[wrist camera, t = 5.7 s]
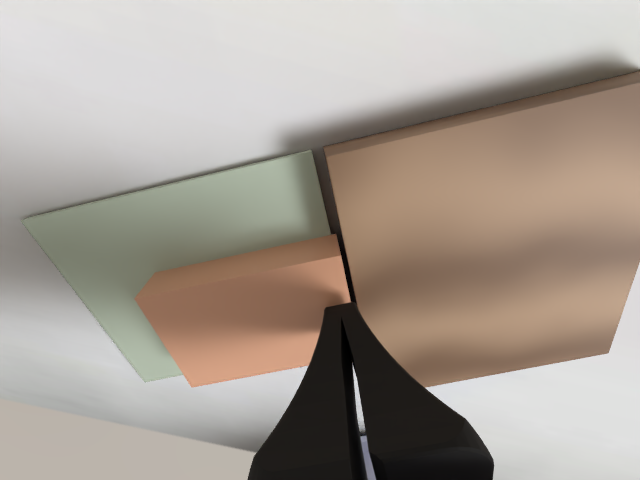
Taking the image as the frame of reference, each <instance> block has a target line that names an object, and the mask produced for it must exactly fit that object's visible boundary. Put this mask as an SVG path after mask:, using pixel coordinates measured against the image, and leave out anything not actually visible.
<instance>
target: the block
mask: <svg viewBox="0 0 640 480" xmlns="http://www.w3.org/2000/svg"><path fill="white" fill-rule="evenodd" d="M323 148H324V153H325V158H326V163H327V167H328V172H329V177H330V182H331V186H332V191H333V196H334V200H335V205H336V210H337V215H338V219H339V224H340V229H341V234H342V238H343V243H344V248H345V253H346V257H347V262H348V267H349V272H350V276H351V281H352V286H353V290H354V295H355V300H356V304H357V307H358V309H359V312H360V313H361V315H362V317H363V319H364V320H365V322H366V324H367V325H368V327H369V328H370V329H371V331H372V332H373V334H374V335H375V336H376V338H377V339H378V340H379V342H380V343H381V344H382V345H383V347H384V348H385V349H386V350H387V351H388V352H389V354H390V355H391V356H392V357H393V358H394V359H395V360H396V361H397V362H398V363H399V364H400V365H401V366H402V367H403V368H404V369H405V370H406V371H407V372H408V373H409V374H410V375H411V376H412V377H413V378H414V379H415V380H416V381H418V382H419V383H420V384H421V385H422V386H423V387H424V388H425V387H430V386H435V385H441V384H446V383H452V382H457V381H462V380H468V379H473V378H478V377H484V376H489V375H494V374H500V373H505V372H510V371H516V370H521V369H527V368H532V367H537V366H543V365H548V364H553V363H559V362H564V361H569V360H575V359H580V358H585V357H591V356H596V355H602V354H607V353H609V350H610V347H611V344H612V341H613V338H614V335H615V333H616V330H617V327H618V324H619V321H620V318H621V315H622V312H623V309H624V306H625V303H626V300H627V297H628V294H629V292H630V289H631V286H632V283H633V280H634V277H635V274H636V271H637V268H638V265H639V262H640V71H638V72H633V73H629V74H625V75H621V76H617V77H613V78H608V79H604V80H600V81H596V82H592V83H587V84H583V85H579V86H575V87H571V88H567V89H562V90H558V91H554V92H550V93H546V94H542V95H537V96H533V97H529V98H525V99H521V100H516V101H512V102H508V103H504V104H500V105H496V106H491V107H487V108H483V109H479V110H475V111H470V112H466V113H462V114H458V115H454V116H450V117H445V118H441V119H437V120H433V121H429V122H424V123H420V124H416V125H412V126H408V127H404V128H399V129H395V130H391V131H387V132H383V133H378V134H374V135H370V136H366V137H362V138H358V139H353V140H349V141H345V142H341V143H337V144H332V145H328V146H324V147H323Z"/></svg>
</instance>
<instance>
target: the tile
mask: <svg viewBox="0 0 640 480" xmlns="http://www.w3.org/2000/svg"><path fill="white" fill-rule="evenodd" d="M134 299H135V301H136V302H137V304H138V306H139V307H140V309H141V310H142V312H143V313H144V315H145V316H146V318H147V319H148V321H149V322H150V324H151V326H152V327H153V329H154V330H155V332H156V333H157V335H158V336H159V338H160V339H161V341H162V342H163V344H164V346H165V347H166V349H167V350H168V352H169V353H170V355H171V356H172V358H173V359H174V361H175V363H176V364H177V366H178V367H179V369H180V370H181V372H182V373H183V375H184V376H185V378H186V379H187V381H188V383H189V384H190V386H191V387H197V386H202V385H208V384H213V383H218V382H224V381H229V380H234V379H239V378H245V377H250V376H255V375H260V374H266V373H271V372H276V371H282V370H287V369H292V368H297V367H303V366H308V365H309V364H310V361H311V358H312V356H313V353H314V350H315V347H316V344H317V341H318V337H319V334H320V330H321V326H322V322H323V316H324V309H325V308H326V307H330V306H335V305H340V304H345V303H349V302H351V300H350V296H349V291H348V286H347V281H346V277H345V272H344V267H343V262H342V258H341V253H340V248H339V244H338V239H337V235H336V234H333V235H328V236H323V237H319V238H314V239H309V240H305V241H300V242H295V243H290V244H286V245H281V246H276V247H272V248H267V249H262V250H258V251H253V252H248V253H244V254H239V255H234V256H230V257H225V258H220V259H216V260H211V261H206V262H201V263H197V264H192V265H187V266H183V267H178V268H173V269H169V270H164V271H159V272H155V273H154V274H153V276H152V277H151V278H150V279H149V281H148V282H147V283H146V284H145V286H144V287H143V288H142V289H141V291H140V292H139V293H138V294H137V296H136V297H135V298H134Z"/></svg>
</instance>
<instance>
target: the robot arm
mask: <svg viewBox="0 0 640 480" xmlns="http://www.w3.org/2000/svg"><path fill="white" fill-rule="evenodd" d="M352 362H353V366H354V369H355V373H356V376H357V381H358V387H359V393H360V399H361V405H362V411H363V417H364V424H365V430H366V436H361V437H360V432H359V427H358V420H357V412H356V402H355V390H354V379H353V367H352ZM493 471H494V462H493V458H492V456H491V454H490V452H489V451H488V449H487V447H486V446H485V444H484V443H483V441H482V440H481V438H480V437H479V435H478V434H477V433H476V431H475V430H474V429H473V427H472V426H471V425H470V424H469V422H468V421H467V420H466V419H465V418H464V417H462V416H461V415H459V414H458V413H457V412H455V411H454V410H452V409H451V408H450V407H448V406H447V405H446V404H444V403H443V402H442V401H440V400H439V399H438V398H437V397H435V396H434V395H433V394H431V393H430V392H429V391H428V390H427V389H426V388H424V387H423V386H422V385H421V384H420V383H419V382H418V381H416V380H415V379H414V378H413V377H412V376H411V375H410V374H409V373H408V372H407V371H406V370H405V369H404V368H403V367H402V366H401V365H400V364H399V363H398V362H397V361H396V360H395V359H394V358H393V357H392V356H391V355H390V354H389V352H388V351H387V350H386V349H385V348H384V347H383V345H382V344H381V343H380V342H379V340H378V339H377V338H376V336H375V335H374V334H373V332H372V331H371V329H370V328H369V327H368V325H367V324H366V322H365V320H364V319H363V317H362V315H361V313H360V312H359V309H358V307H357V304H356V303H355V302H349V303H345V304H340V305H335V306H330V307H326V308H325V309H324V316H323V322H322V326H321V330H320V334H319V337H318V341H317V344H316V347H315V350H314V353H313V356H312V358H311V361H310V364H309V366H308V369H307V371H306V373H305V376H304V378H303V380H302V382H301V384H300V386H299V388H298V390H297V392H296V394H295V396H294V398H293V399H292V401H291V403H290V405H289V406H288V408H287V410H286V411H285V413H284V414H283V416H282V418H281V419H280V421H279V422H278V424H277V426H276V427H275V429H274V430H273V432H272V433H271V434H270V436H269V437H268V438H267V440H266V441H265V443H264V444H263V445H262V447H261V448H260V449H259V451H258V452H257V453H256V455H255V456H254V458H253V461H252V465H251V468H250V472H249V476H248V480H493Z"/></svg>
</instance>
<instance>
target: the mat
mask: <svg viewBox="0 0 640 480" xmlns="http://www.w3.org/2000/svg"><path fill="white" fill-rule="evenodd" d="M21 222H22V223H23V225H24V226H25V227H26V229H27V230H28V231H29V233H30V234H31V235H32V236H33V238H34V239H35V240H36V242H37V243H38V244H39V246H40V247H41V248H42V249H43V251H44V252H45V253H46V255H47V256H48V257H49V259H50V260H51V261H52V262H53V264H54V265H55V266H56V268H57V269H58V270H59V272H60V273H61V274H62V275H63V277H64V278H65V279H66V281H67V282H68V283H69V285H70V286H71V287H72V288H73V290H74V291H75V292H76V294H77V295H78V296H79V298H80V299H81V300H82V301H83V303H84V304H85V305H86V307H87V308H88V309H89V311H90V312H91V313H92V314H93V316H94V317H95V318H96V320H97V321H98V322H99V324H100V325H101V326H102V327H103V329H104V330H105V331H106V333H107V334H108V335H109V337H110V338H111V339H112V340H113V342H114V343H115V344H116V346H117V347H118V348H119V350H120V351H121V352H122V353H123V355H124V356H125V357H126V359H127V360H128V361H129V363H130V364H131V365H132V366H133V368H134V369H135V370H136V372H137V373H138V374H139V376H140V377H141V378H142V379H143V381H144V382H150V381H155V380H160V379H165V378H170V377H175V376H180V375H183V373H182V372H181V370H180V369H179V367H178V366H177V364H176V363H175V361H174V359H173V358H172V356H171V355H170V353H169V352H168V350H167V349H166V347H165V346H164V344H163V342H162V341H161V339H160V338H159V336H158V335H157V333H156V332H155V330H154V329H153V327H152V326H151V324H150V322H149V321H148V319H147V318H146V316H145V315H144V313H143V312H142V310H141V309H140V307H139V306H138V304H137V302H136V301H135V299H134V298H135V297H136V296H137V294H138V293H139V292H140V291H141V289H142V288H143V287H144V286H145V284H146V283H147V282H148V281H149V279H150V278H151V277H152V276H153V274H154V273H155V272H159V271H164V270H169V269H173V268H178V267H183V266H187V265H192V264H197V263H201V262H206V261H211V260H216V259H220V258H225V257H230V256H234V255H239V254H244V253H248V252H253V251H258V250H262V249H267V248H272V247H276V246H281V245H286V244H290V243H295V242H300V241H305V240H309V239H314V238H319V237H323V236H328V235H331V232H330V227H329V223H328V219H327V214H326V210H325V206H324V201H323V197H322V193H321V188H320V184H319V180H318V175H317V171H316V167H315V162H314V158H313V154H312V150H307V151H303V152H299V153H295V154H291V155H287V156H282V157H278V158H274V159H270V160H266V161H261V162H257V163H253V164H249V165H245V166H241V167H236V168H232V169H228V170H224V171H220V172H215V173H211V174H207V175H203V176H199V177H195V178H190V179H186V180H182V181H178V182H174V183H169V184H165V185H161V186H157V187H153V188H149V189H144V190H140V191H136V192H132V193H128V194H123V195H119V196H115V197H111V198H107V199H103V200H98V201H94V202H90V203H86V204H82V205H77V206H73V207H69V208H65V209H61V210H57V211H52V212H48V213H44V214H40V215H36V216H32V217H28V218H26V219H24V220H21Z"/></svg>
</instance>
